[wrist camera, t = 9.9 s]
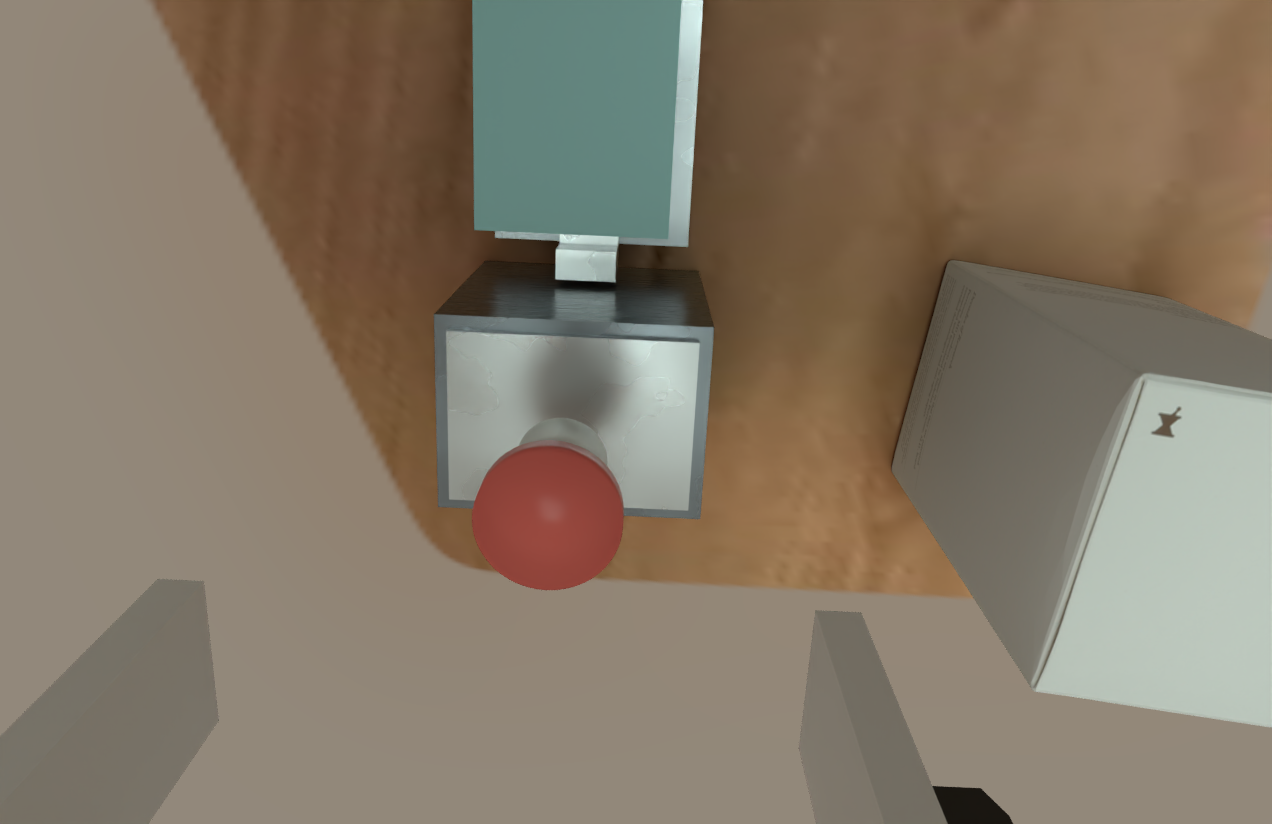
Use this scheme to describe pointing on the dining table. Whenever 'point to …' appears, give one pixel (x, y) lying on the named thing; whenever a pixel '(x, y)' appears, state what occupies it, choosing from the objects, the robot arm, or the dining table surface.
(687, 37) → the rail
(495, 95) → the carriage
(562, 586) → the plunger
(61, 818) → the robot arm
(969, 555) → the supplement box
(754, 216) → the dining table surface
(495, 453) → the grey button housing
